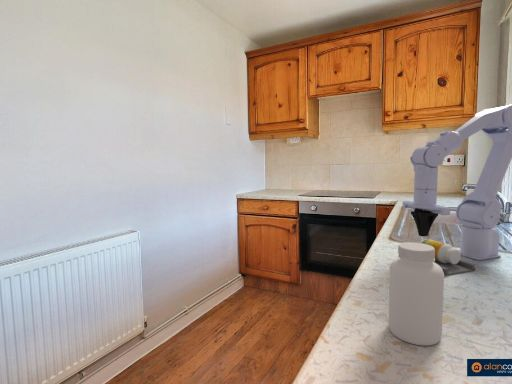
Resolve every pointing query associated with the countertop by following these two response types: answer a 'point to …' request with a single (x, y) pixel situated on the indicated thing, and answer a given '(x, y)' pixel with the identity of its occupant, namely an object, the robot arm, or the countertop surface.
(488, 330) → the countertop surface
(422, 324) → the pill bottle
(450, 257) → the supplement bottle
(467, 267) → the stand
